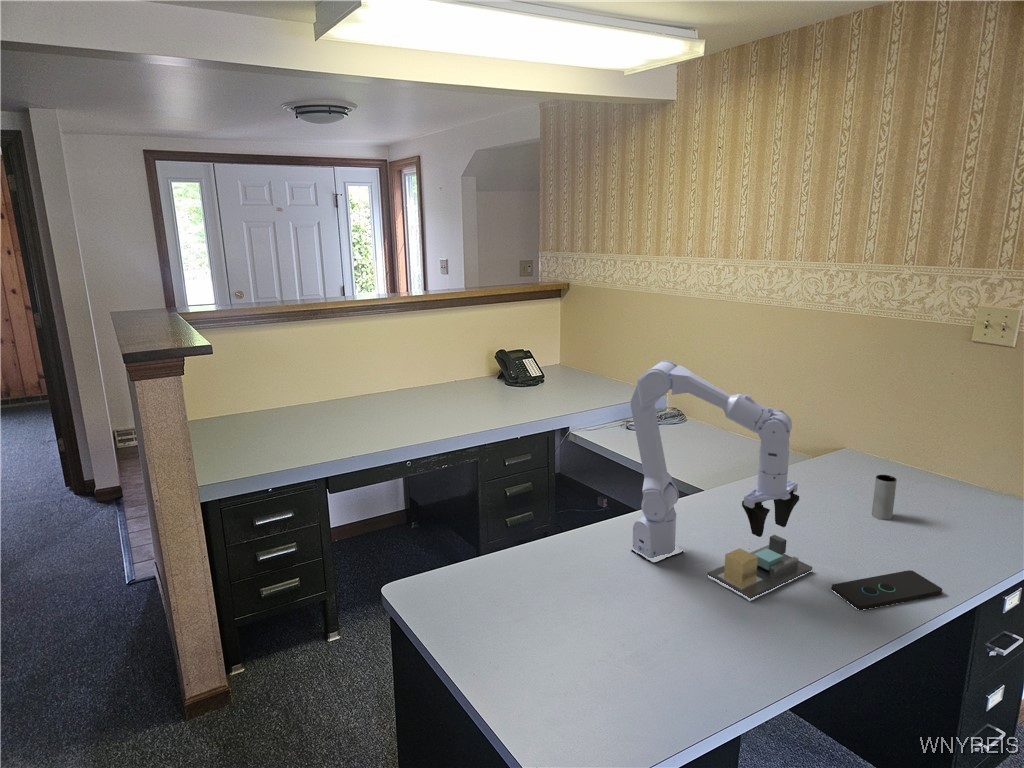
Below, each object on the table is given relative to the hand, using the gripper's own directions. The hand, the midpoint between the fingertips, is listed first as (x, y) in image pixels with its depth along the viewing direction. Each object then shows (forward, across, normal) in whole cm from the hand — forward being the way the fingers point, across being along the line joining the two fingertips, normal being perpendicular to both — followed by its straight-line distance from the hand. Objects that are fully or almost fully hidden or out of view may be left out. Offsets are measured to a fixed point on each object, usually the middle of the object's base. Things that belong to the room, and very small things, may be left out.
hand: (768, 530), depth 138 cm
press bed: (+10, -2, 0) cm, 10 cm away
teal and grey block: (+8, +1, 0) cm, 8 cm away
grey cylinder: (+10, +46, +2) cm, 47 cm away
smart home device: (+11, +14, -18) cm, 25 cm away
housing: (+8, -8, 0) cm, 12 cm away
